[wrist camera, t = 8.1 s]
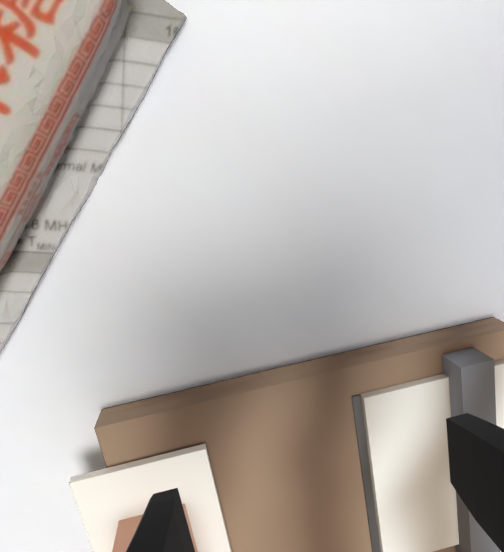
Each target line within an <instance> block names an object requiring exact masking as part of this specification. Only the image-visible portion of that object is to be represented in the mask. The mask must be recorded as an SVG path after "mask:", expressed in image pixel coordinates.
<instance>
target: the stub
mask: <svg viewBox="0 0 504 552" xmlns="http://www.w3.org/2000/svg"><path fill="white" fill-rule="evenodd" d="M69 485H70V488H71V491H72V494H73V497H74V499H75V502H76V505H77V508H78V511H79V513H80V516H81V519H82V522H83V525H84V528H85V530H86V533H87V536H88V539H89V542H90V544H91V547H92V550H93V552H126V550H127V548H128V546H129V544H130V542H131V540H132V538H133V536H134V533H135V531H136V529H137V527H138V525H139V523H140V520H141V518H142V516H143V514H144V511H145V509H146V507H147V505H148V502H149V500H150V498H151V497H152V495H153V494H155V493H159V492H163V491H166V490H170V489H174V488H178V491H179V495H180V498H181V502H182V506H183V509H184V513H185V516H186V520H187V524H188V527H189V531H190V535H191V538H192V542H193V546H194V549H195V552H232V550H231V546H230V542H229V538H228V534H227V530H226V526H225V522H224V517H223V513H222V509H221V505H220V501H219V497H218V493H217V489H216V485H215V481H214V477H213V473H212V468H211V464H210V460H209V456H208V452H207V448H206V444H201V445H197V446H193V447H189V448H185V449H181V450H177V451H173V452H169V453H165V454H161V455H157V456H153V457H149V458H145V459H141V460H137V461H133V462H129V463H125V464H121V465H117V466H113V467H109V468H105V469H101V470H97V471H93V472H89V473H85V474H81V475H77V476H73V477H71V479H70V482H69Z"/></svg>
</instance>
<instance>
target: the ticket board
mask: <svg viewBox="0 0 504 552" xmlns="http://www.w3.org/2000/svg"><path fill="white" fill-rule="evenodd" d="M465 413H469V414H471V415H474V416H476V417H479V418H481V419H483V420H486V421H488V422H490V423H492V424H494V425H497V426H499V427H501V428H503V429H504V322H503V321H500V320H498V319H496V318H494V317H492V318H488V319H483V320H479V321H475V322H471V323H466V324H462V325H458V326H454V327H449V328H445V329H441V330H437V331H433V332H428V333H424V334H420V335H416V336H411V337H407V338H403V339H399V340H394V341H390V342H386V343H382V344H377V345H373V346H369V347H365V348H360V349H356V350H352V351H348V352H343V353H339V354H335V355H331V356H326V357H322V358H318V359H314V360H309V361H305V362H301V363H297V364H293V365H288V366H284V367H280V368H276V369H271V370H267V371H263V372H259V373H254V374H250V375H246V376H242V377H237V378H233V379H229V380H225V381H220V382H216V383H212V384H208V385H203V386H199V387H195V388H191V389H186V390H182V391H178V392H174V393H169V394H165V395H161V396H157V397H153V398H148V399H144V400H140V401H136V402H131V403H127V404H123V405H119V406H114V407H110V408H106V409H102V410H101V413H100V415H99V418H98V420H97V423H96V425H95V428H94V429H95V432H96V435H97V438H98V441H99V444H100V447H101V451H102V454H103V457H104V460H105V463H106V466H107V468H109V467H113V466H117V465H121V464H125V463H129V462H133V461H137V460H141V459H145V458H149V457H153V456H157V455H161V454H165V453H169V452H173V451H177V450H181V449H185V448H189V447H193V446H197V445H201V444H206V448H207V452H208V456H209V460H210V464H211V468H212V473H213V477H214V481H215V485H216V489H217V493H218V497H219V501H220V505H221V509H222V513H223V517H224V522H225V526H226V530H227V534H228V538H229V542H230V546H231V550H232V552H500V549H499V548H498V547H497V546H496V544H495V543H494V542H493V541H492V540H491V538H490V537H489V536H488V535H487V534H486V532H485V531H484V530H483V529H482V527H481V526H480V525H479V524H478V523H477V521H476V520H475V519H474V517H473V516H472V514H471V513H470V511H469V510H468V508H467V507H466V505H465V504H464V503H463V501H462V499H461V498H460V496H459V495H458V493H457V492H456V490H455V489H454V487H453V485H452V484H451V482H450V469H449V454H448V439H447V424H446V418H450V417H454V416H458V415H462V414H465Z"/></svg>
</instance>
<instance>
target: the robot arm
mask: <svg viewBox="0 0 504 552" xmlns="http://www.w3.org/2000/svg"><path fill="white" fill-rule="evenodd" d="M446 424H447V439H448V454H449V469H450V482H451V484H452V485H453V487H454V489H455V490H456V492H457V493H458V495H459V496H460V498H461V499H462V501H463V503H464V504H465V505H466V507H467V508H468V510H469V511H470V513H471V514H472V516H473V517H474V519H475V520H476V521H477V523H478V524H479V525H480V526H481V527H482V529H483V530H484V531H485V532H486V534H487V535H488V536H489V537H490V538H491V540H492V541H493V542H494V543H495V544H496V546H497V547H498V548H499V549H500V550H501V552H504V429H503V428H501V427H499V426H497V425H494V424H492V423H490V422H488V421H486V420H483V419H481V418H479V417H476V416H474V415H471V414H469V413H465V414H462V415H458V416H454V417H450V418H446ZM126 552H195V549H194V546H193V542H192V538H191V535H190V531H189V527H188V524H187V520H186V516H185V513H184V509H183V506H182V502H181V498H180V495H179V491H178V488H174V489H170V490H166V491H163V492H159V493H155V494H153V495H152V497H151V498H150V500H149V502H148V505H147V507H146V509H145V511H144V514H143V516H142V518H141V520H140V523H139V525H138V527H137V529H136V531H135V533H134V536H133V538H132V540H131V542H130V544H129V546H128V548H127V550H126Z"/></svg>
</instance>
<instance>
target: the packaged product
mask: <svg viewBox="0 0 504 552" xmlns="http://www.w3.org/2000/svg"><path fill="white" fill-rule="evenodd" d="M185 20H186V16H185V15H184V14H183V13H181V12H180V11H178V10H176V9H175V8H174V7H173V6H171V5H170V4H169V3H167V2H166V1H165V0H0V352H1V350H2V348H3V347H4V345H5V343H6V342H7V340H8V338H9V337H10V335H11V333H12V332H13V330H14V328H15V327H16V325H17V323H18V322H19V320H20V318H21V316H22V314H23V312H24V310H25V307H26V305H27V303H28V301H29V299H30V296H31V294H32V293H33V291H34V289H35V287H36V286H37V284H38V282H39V280H40V278H41V277H42V275H43V273H44V271H45V270H46V268H47V266H48V264H49V262H50V261H51V259H52V257H53V255H54V253H55V252H56V250H57V248H58V246H59V245H60V243H61V241H62V239H63V237H64V236H65V234H66V232H67V230H68V228H69V227H70V225H71V223H72V221H73V219H74V218H75V216H76V215H77V213H78V212H79V210H80V209H81V207H82V206H83V204H84V203H85V201H86V200H87V198H88V197H89V195H90V194H91V192H92V191H93V189H94V187H95V185H96V183H97V180H98V177H100V176H101V174H102V172H103V170H104V168H105V165H106V163H107V161H108V158H109V156H110V154H111V151H112V149H113V146H114V145H115V144H116V143H117V141H118V139H119V138H120V136H121V134H122V133H123V131H124V129H125V128H126V126H127V124H128V123H129V121H130V119H131V118H132V116H133V114H134V113H135V111H136V109H137V108H138V106H139V104H140V103H141V101H142V99H143V98H144V96H145V94H146V92H147V90H148V88H149V86H150V84H151V81H152V79H153V77H154V75H155V73H156V71H157V69H158V67H159V65H160V63H161V61H162V59H163V57H164V55H165V53H166V51H167V49H168V47H169V45H170V43H171V41H172V40H173V38H174V37H175V35H176V34H177V32H178V31H179V29H180V28H181V26H182V24H183V23H184V21H185Z"/></svg>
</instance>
